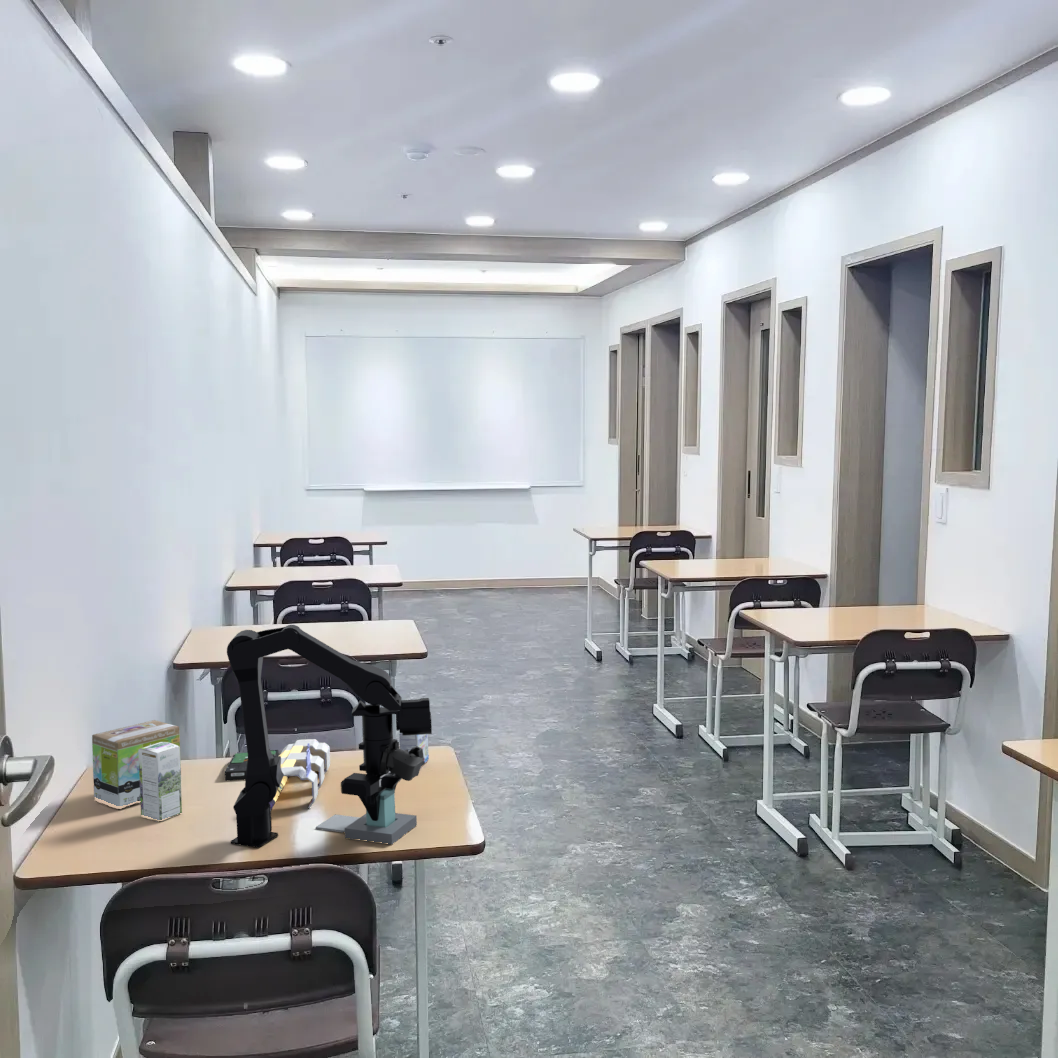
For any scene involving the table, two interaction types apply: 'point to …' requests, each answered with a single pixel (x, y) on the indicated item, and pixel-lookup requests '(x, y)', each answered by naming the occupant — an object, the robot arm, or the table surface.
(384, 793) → the plug
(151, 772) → the syrup box
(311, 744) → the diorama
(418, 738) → the medicine box
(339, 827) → the pad
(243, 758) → the disk drive
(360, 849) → the table surface
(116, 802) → the tea box
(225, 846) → the table surface
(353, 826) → the socket
